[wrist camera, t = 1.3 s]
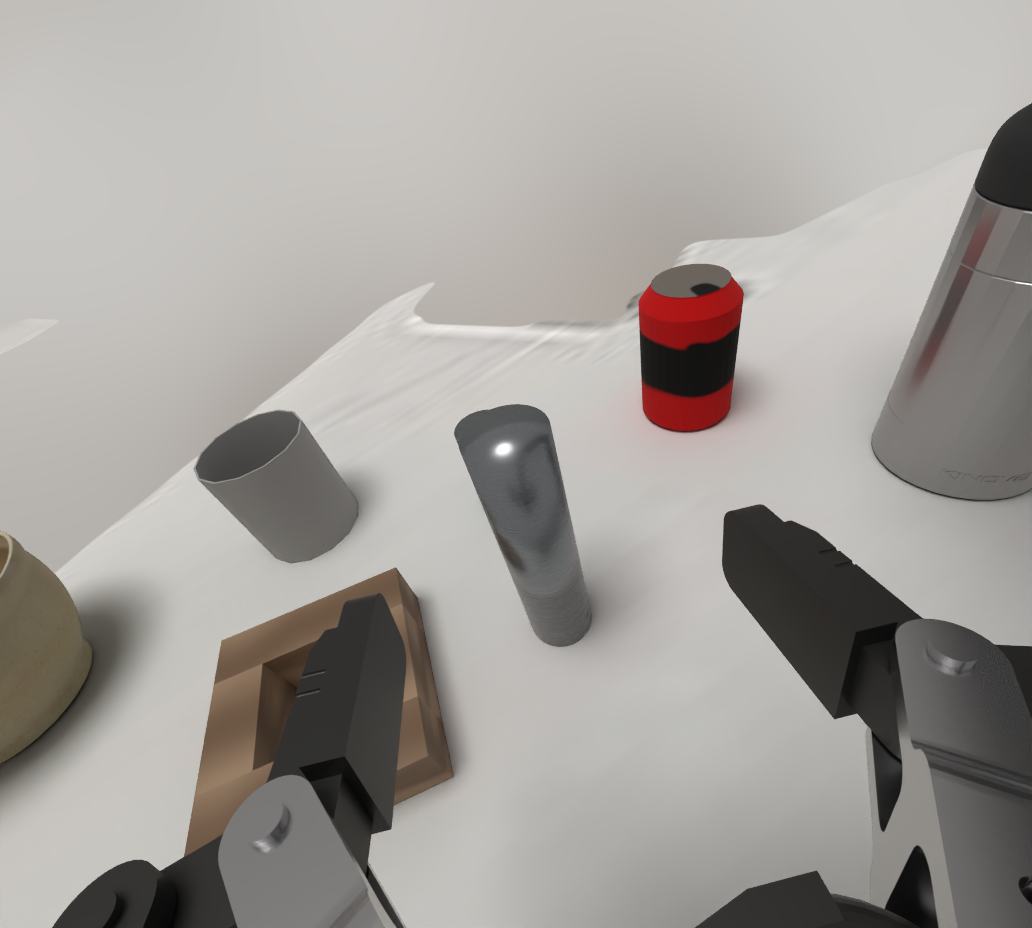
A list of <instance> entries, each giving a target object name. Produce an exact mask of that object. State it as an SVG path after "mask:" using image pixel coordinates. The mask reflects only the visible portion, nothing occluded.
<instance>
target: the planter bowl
mask: <svg viewBox="0 0 1032 928" xmlns="http://www.w3.org/2000/svg"><path fill="white" fill-rule="evenodd" d="M91 663H92V649H91V646H90V645H89V643H88V642H87V641H86V640H85V639H84V638H82V632H81V625H80V620H79V616H78V613H77V610H76V607H75V605H74V603H73V600H72V598H71V596H70V595H69V593H68V591H67V590H66V588H65V586H64V585H63V584H62V582H61V581H60V580H59V578H58V577H57V576H56V575H55V574H54V573H53V572H52V571H51V570H50V569H49V568H48V567H47V566H46V565H45V564H43V563H42V562H41V561H40V560H39V559H37V558H36V557H34V556H33V555H32V554H30V553H29V552H27V551H25V550H24V548H23V547H22V546H21V544H20V543H19V542H18V541H17V540H16V539H14V538H13V537H11V536H10V535H8V534H7V533H5V532H3V531H0V763H2V762H4V761H6V760H8V759H10V758H11V757H13V756H15V755H16V754H17V753H19V752H20V751H22V750H23V749H24V748H26V747H27V746H28V745H30V744H31V743H32V742H33V741H35V740H36V739H37V738H38V737H39V736H41V735H42V734H43V733H44V732H45V731H46V730H47V729H48V728H49V727H50V726H51V725H52V724H53V723H54V722H55V721H56V720H57V719H58V718H59V717H60V716H61V714H62V713H63V712H64V711H65V710H66V708H67V707H68V706H69V705H70V703H71V702H72V701H73V699H74V698H75V697H76V695H77V693H78V692H79V690H80V689H81V687H82V685H83V684H84V682H85V680H86V677H87V675H88V673H89V670H90V667H91Z"/></svg>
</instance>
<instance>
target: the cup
mask: <svg viewBox="0 0 1032 928" xmlns="http://www.w3.org/2000/svg"><path fill="white" fill-rule="evenodd" d="M194 471H195V473H196V476H197V478H198V480H199V481H200V482H201V483H202V484H203V485H204V486H205V487H206V488H207V489H208V490H209V491H210V492H211V493H212V494H213V495H214V496H215V497H216V498H217V499H218V500H219V501H220V502H221V503H222V504H223V505H224V506H225V507H226V508H227V509H228V510H229V511H230V512H231V513H232V514H233V515H234V516H235V517H236V518H237V519H238V520H239V521H240V522H241V523H242V524H243V525H244V526H245V527H246V528H247V529H248V531H249V532H250V533H251V534H252V535H253V536H254V537H255V538H256V539H257V540H258V541H259V542H260V543H261V544H262V545H263V546H264V547H265V548H266V549H267V550H268V551H269V552H270V553H271V554H272V555H273V556H274V557H275V558H276V559H279V560H282V561H285V562H288V563H296V562H302V561H308V560H312V559H314V558H316V557H318V556H320V555H322V554H324V553H325V552H327V551H329V550H331V549H333V548H334V547H335V546H336V545H337V544H338V543H339V542H340V541H341V540H342V539H343V538H344V537H345V536H346V535H348V534H349V532H350V530H351V528H352V527H353V525H354V523H355V521H356V519H357V517H358V502H357V500H356V499H355V497H354V496H353V494H352V493H351V491H350V490H349V488H348V487H347V486H346V484H345V483H344V481H343V480H342V478H341V477H340V475H339V474H338V472H337V471H336V469H335V468H334V467H333V465H332V464H331V462H330V461H329V459H328V458H327V456H326V455H325V453H324V452H323V451H322V449H321V448H320V446H319V445H318V443H317V442H316V440H315V439H314V437H313V436H312V434H311V433H310V432H309V430H308V429H307V427H306V426H305V424H304V423H303V421H302V420H301V419H300V418H299V417H298V416H297V414H296V413H295V412H293V411H285V410H275V411H270V412H266V413H261V414H257V415H255V416H253V417H250V418H248V419H246V420H244V421H241V422H239V423H237V424H235V425H234V426H232V427H231V428H229V429H228V430H226V431H225V432H223V433H222V434H220V435H219V436H217V437H216V438H215V439H214V440H213V441H212V442H211V443H210V444H209V445H208V446H207V447H206V448H205V449H204V451H202V452H201V453H200V455H199V458H198V460H197V462H196V465H195V467H194Z"/></svg>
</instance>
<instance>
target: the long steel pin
mask: <svg viewBox="0 0 1032 928" xmlns="http://www.w3.org/2000/svg"><path fill="white" fill-rule="evenodd" d="M459 449H460V452H461V455H462V457H463V459H464V462H465V464H466V467H467V469H468V472H469V474H470V477H471V479H472V481H473V484H474V486H475V489H476V491H477V494H478V496H479V498H480V501H481V503H482V506H483V508H484V511H485V513H486V516H487V518H488V520H489V523H490V525H491V528H492V530H493V533H494V535H495V537H496V540H497V542H498V545H499V547H500V550H501V552H502V555H503V557H504V559H505V562H506V564H507V567H508V569H509V572H510V574H511V576H512V579H513V581H514V584H515V586H516V589H517V591H518V594H519V596H520V598H521V601H522V603H523V606H524V608H525V611H526V613H527V615H528V618H529V620H530V623H531V625H532V628H533V630H534V632H535V634H536V635H537V636H538V637H539V638H540V639H541V640H542V641H543V642H545V643H547V644H549V645H552V646H568V645H571V644H574V643H576V642H577V641H579V640H580V639H581V638H582V637H583V636H584V635H585V634H586V633H587V631H588V629H589V627H590V624H591V609H590V605H589V600H588V595H587V591H586V586H585V582H584V577H583V572H582V568H581V563H580V559H579V554H578V549H577V545H576V540H575V536H574V531H573V526H572V522H571V517H570V513H569V508H568V503H567V499H566V494H565V490H564V485H563V480H562V476H561V471H560V467H559V462H558V457H557V453H556V448H555V444H554V439H553V434H552V430H551V425H550V421H549V419H548V417H547V416H546V415H545V413H543V412H542V411H541V410H539V409H537V408H535V407H532V406H528V405H519V404H515V405H505V406H500V407H497V408H494V409H491V410H489V411H486V412H484V413H482V414H481V415H479V416H477V417H476V418H475V419H473V420H472V421H471V422H470V423H469V424H468V425H467V426H466V427H465V428H464V430H463V431H462V433H461V435H460V439H459Z"/></svg>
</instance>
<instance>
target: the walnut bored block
mask: <svg viewBox="0 0 1032 928" xmlns="http://www.w3.org/2000/svg"><path fill="white" fill-rule="evenodd" d="M377 593H381V594H382V595H383V596H384V598H385V600H386V602H387V605H388V607H389V609H390V611H391V614H392V616H393V618H394V621H395V623H396V625H397V627H398V630H399V632H400V634H401V637H402V639H403V642H404V646H405V652H406V677H405V687H404V698H403V709H402V720H401V730H400V741H399V752H398V763H397V773H396V784H395V795H394V805H395V804H397V803H399V802H401V801H403V800H406V799H408V798H410V797H412V796H414V795H416V794H418V793H420V792H422V791H425V790H427V789H429V788H431V787H433V786H435V785H437V784H439V783H441V782H443V781H446V780H448V779H450V778H452V777H453V772H452V767H451V763H450V758H449V753H448V748H447V743H446V738H445V733H444V728H443V723H442V718H441V713H440V708H439V703H438V698H437V693H436V688H435V683H434V678H433V673H432V668H431V663H430V658H429V653H428V648H427V643H426V638H425V633H424V628H423V623H422V619H421V614H420V609H419V604H418V599H417V597H416V595H415V594H414V592H413V591H412V590H411V588H410V587H409V585H408V584H407V582H406V581H405V580H404V578H403V577H402V575H401V574H400V572H399V571H398V570H397V568H393V569H391V570H389V571H386V572H384V573H382V574H379V575H377V576H374V577H372V578H370V579H367V580H365V581H363V582H360V583H358V584H355V585H353V586H351V587H348V588H346V589H344V590H341V591H339V592H336V593H334V594H332V595H329V596H327V597H325V598H322V599H320V600H317V601H315V602H313V603H310V604H308V605H305V606H303V607H301V608H298V609H296V610H294V611H291V612H289V613H286V614H284V615H282V616H279V617H277V618H275V619H272V620H270V621H267V622H265V623H263V624H260V625H258V626H256V627H253V628H251V629H248V630H246V631H244V632H241V633H239V634H237V635H234V636H232V637H229V638H227V639H225V640H222V641H221V647H220V653H219V659H218V665H217V670H216V676H215V682H214V688H213V693H212V699H211V705H210V711H209V716H208V722H207V728H206V734H205V739H204V745H203V751H202V757H201V762H200V768H199V774H198V780H197V785H196V791H195V797H194V803H193V808H192V814H191V820H190V826H189V832H188V837H187V843H186V849H185V855H184V857H185V856H187V855H189V854H190V853H192V852H194V851H195V850H197V849H199V848H201V847H202V846H204V845H206V844H207V843H209V842H211V841H212V840H214V839H216V838H217V837H219V836H220V835H222V834H223V833H224V831H225V829H226V827H227V825H228V823H229V821H230V820H231V818H232V816H233V815H234V814H235V812H236V811H237V809H238V808H239V807H240V806H241V805H242V803H243V802H244V801H245V800H246V799H247V798H248V797H249V796H250V795H251V794H252V793H253V792H255V791H256V790H257V789H259V788H260V787H261V786H263V785H264V784H266V782H267V779H268V777H269V774H270V771H271V768H272V765H273V762H274V759H275V756H276V753H277V750H278V747H279V744H280V741H281V738H282V734H283V731H284V728H285V725H286V722H287V719H288V716H289V713H290V710H291V707H292V704H293V701H294V699H296V692H297V688H298V685H299V682H300V679H302V678H303V677H302V673H303V670H304V667H305V664H306V661H307V658H308V655H309V652H310V650H311V649H312V648H313V646H314V645H315V644H316V642H317V641H318V639H319V638H320V637H321V635H322V634H323V633H324V631H325V630H328V629H332V628H336V627H338V623H339V620H340V616H341V612H342V609H343V606H344V603H345V602H346V601H348V600H352V599H356V598H360V597H364V596H369V595H373V594H377Z"/></svg>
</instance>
